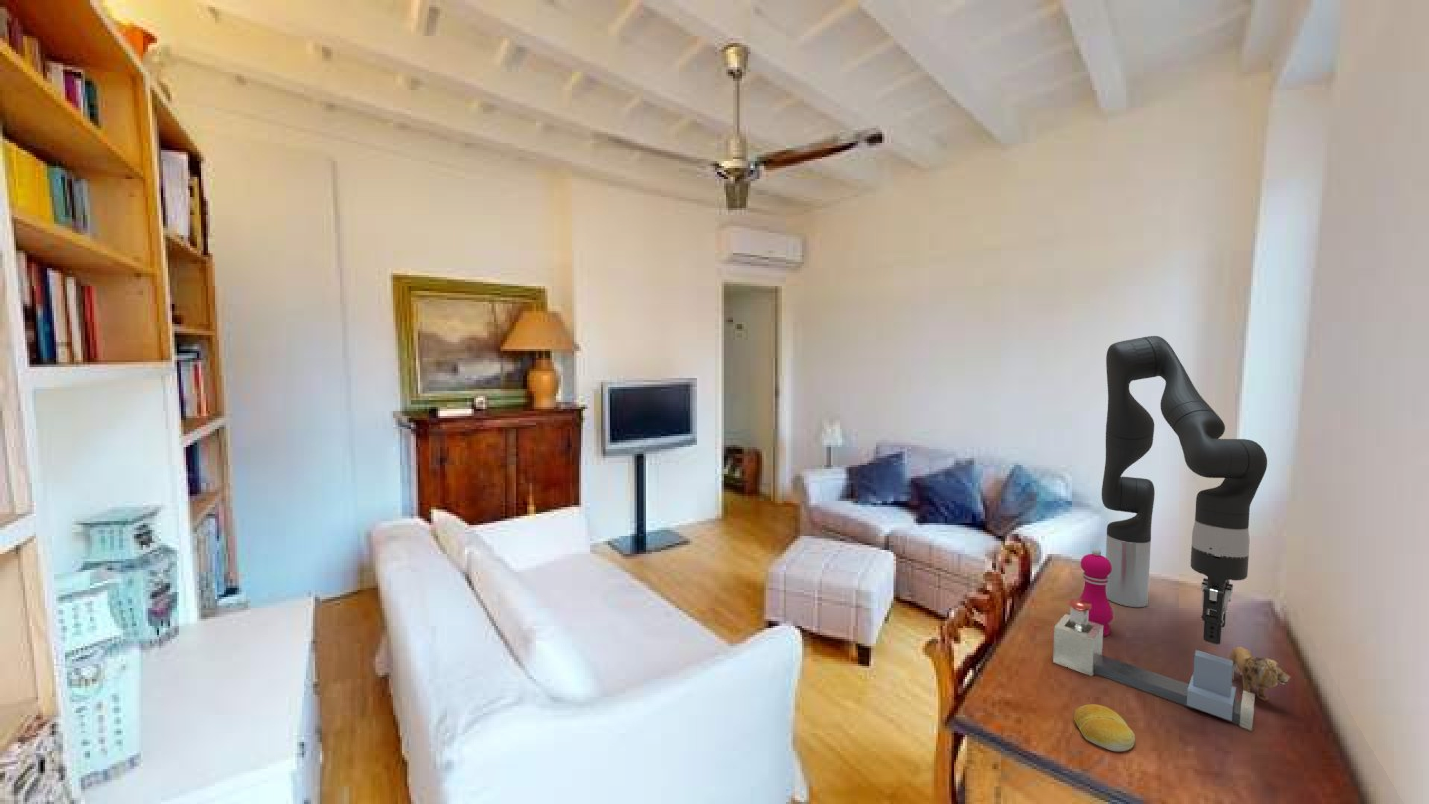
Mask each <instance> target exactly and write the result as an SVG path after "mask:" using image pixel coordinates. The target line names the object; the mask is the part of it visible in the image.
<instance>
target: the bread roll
mask: <svg viewBox="0 0 1429 804" xmlns="http://www.w3.org/2000/svg"><path fill="white" fill-rule="evenodd" d="M1073 719H1074V722H1075V724H1076V726H1077V728H1079V731H1080V732H1081V735H1082V736H1083V737H1084V738H1085V740H1087V741H1088V742H1090V743H1092V744H1094V745H1096V746H1098V747H1100V748H1103V749H1106V750H1108V751H1112V752H1127V751H1129V750H1131V749H1132V748H1133V747H1134V746H1135V742H1136V735H1135V733H1134V731H1133V729H1131V727H1129V726H1128V724H1127V723H1126V721H1125V720H1124V718H1122V717H1121V716H1120V715H1119V713H1117V712H1116V711H1115V710H1114V709H1111V708H1110V707H1107V706H1105V705H1102V704H1101V705H1100V704H1094V703H1091V704H1085V705H1081V706H1079V707H1077V708H1076V709H1075V710H1074V713H1073Z"/></svg>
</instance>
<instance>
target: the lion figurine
mask: <svg viewBox="0 0 1429 804" xmlns="http://www.w3.org/2000/svg"><path fill="white" fill-rule="evenodd" d="M1229 660H1232V661H1233V670H1232V681H1235V677H1234V674H1235V669H1236V667H1237V669H1238V674H1239V675H1240V676H1242V688H1243V689H1242V691H1243V690H1244V691H1247V692H1250V693H1251V686H1252V685H1253V686H1254V687H1256V688H1257V690H1256V691H1257V692H1256V695H1257V697H1258V698H1259V699H1261V701H1262V700H1263V701H1268V699H1269V698H1268V697H1267V696H1266V695H1265V691H1266V690H1267V689H1270V688H1274V687H1276V686H1278V683H1279V684H1281V685H1286V682H1288V681H1289V680H1290V679H1291V675H1289V674H1287V673H1286V672H1284V671H1283V670H1282V668H1281V667H1279V665H1278V662H1277V661H1275V659H1269V658H1268V657H1265V658H1264V657H1258V656H1257V657H1254V656H1253V654H1252V652H1251V651H1250V650H1249V649H1246V648H1244V647H1242V646H1237V647H1234V648H1233V649H1231V652H1230V655H1229ZM1242 696H1243V693H1242V695H1241V697H1242Z"/></svg>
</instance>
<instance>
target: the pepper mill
mask: <svg viewBox="0 0 1429 804" xmlns="http://www.w3.org/2000/svg"><path fill="white" fill-rule="evenodd" d="M1080 569H1082V570H1083V572H1082V580H1083V581H1084V589H1083V590H1082V593H1081V595H1080V597H1079V599H1083V600H1086V601H1088V602H1090V603H1091V609H1090V610H1089V616H1088V621H1091V622H1094V623H1097V624H1101V625H1103V637H1107V636H1109V634H1110V632H1111V631H1110V630H1111V626H1110V624H1109V623H1111V622H1112V621H1113V619H1114V613H1113V609H1112V605H1111V604H1110V602H1109V600H1108V599H1107V596H1106V584H1108V583H1109V582H1108V580H1109V578H1108V575H1109V574H1110V573H1111V571H1112V566H1111V563H1110V561H1109V560H1108V559H1107V558H1106V556H1103V555H1102V551H1101V549H1099V548H1093V549H1092V550H1091V553H1088V554H1085V555H1083V556H1082V557H1081V560H1080Z"/></svg>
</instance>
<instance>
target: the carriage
mask: <svg viewBox="0 0 1429 804" xmlns="http://www.w3.org/2000/svg"><path fill="white" fill-rule="evenodd" d="M1193 659H1194V660H1193V673H1192V675H1191V678H1190V680H1189V683H1188V684H1189V687H1188V691H1187V705H1188V706H1190V707H1193V708H1196V709H1199V710H1202V711H1204V712H1207V713H1210V714H1213V715H1216V716H1219V717H1221V718H1224V719H1227V720H1230V721H1232V713H1233V706H1234V700H1235V699H1236V692H1237V691H1236V690H1237V689H1236V688H1237V687H1236V686H1233V685H1232V683H1233V680H1232V670H1233V661H1232V660H1230V658H1229V659H1228V658H1225V657H1222V656H1219V655H1216V654H1215V655H1214V654H1211V653H1208V652H1204V651H1200V650H1197V649H1195V653H1194V658H1193ZM1190 707H1189V708H1190ZM1193 708H1192V709H1193ZM1196 709H1195V710H1196ZM1204 712H1203V713H1204ZM1207 713H1206V714H1207ZM1210 714H1209V715H1210ZM1221 718H1220V719H1221ZM1224 719H1223V720H1224Z"/></svg>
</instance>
